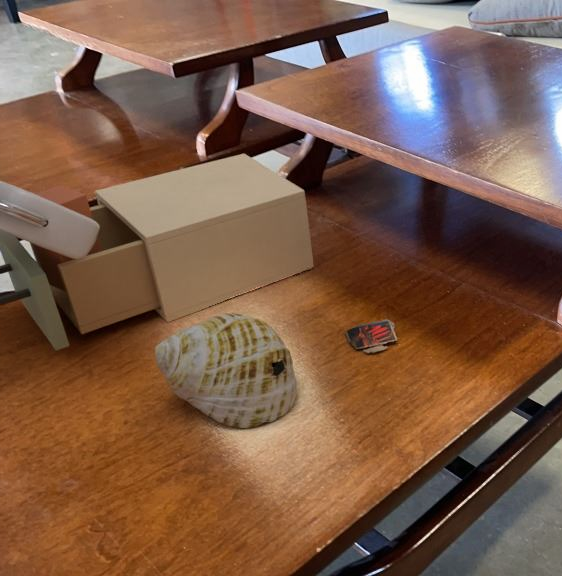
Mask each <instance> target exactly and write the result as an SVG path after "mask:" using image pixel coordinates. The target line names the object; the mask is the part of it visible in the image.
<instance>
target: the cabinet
mask: <svg viewBox="0 0 562 576" xmlns="http://www.w3.org/2000/svg"><path fill="white" fill-rule="evenodd" d="M94 193H95V197H96V201H97V206H98V205H102V204H104V205H105V206H107V207H108V208H109V209H110V210H111V211H112V212H113V213H114V214H115V215H116V216H117V217H118V218H120V219H121V220H122V221H123V222H124V223H125V224H126V225H127V226H128V227H129V228H130V229H131V230H133V231H134V232H135V233H136V234H137V235H138V236H139V237H140V238H141V239H142V240H143V241H145V246H146V250H147V254H148V258H149V262H150V266H151V270H152V274H153V278H154V282H155V285H156V289H157V293H158V297H159V301H160V305H161V307H158V308H155V309H154V311H155V312H157V314H159V315H160V317H161V318H162V319H163V320H164V321H165V322H166V323H170V322H173V321H175V320H178V319H180V318H184V317H186V316H189V315H191V314H194V313H197V312H200V311H203V310H205V309H207V308H210V307H209V306H211V307H213V306H216V305H218V304H217V303H219V304H221V303H220V302H222V303H224V302H225V301H224V300H227V299H229V298H230V297H233V296H236V295H239V294H242V293H244V292H247V291H250V290H252V289H255V288H256V287H259V286H260V287H261V286H263V285H266V284H268V283H271V282H274V281H277V280H280V279H282V278H285V277H287V276H290V275H292V274H294V273H298V272H300V271H303V270H305V269H307V268H311V267H314V268H315V266H314V257H313V248H312V239H311V232H310V231H311V230H310V222H309V215H308V208H307V207H308V206H307V199H306V192H305V190H304V189H303V188H301V187H300V186H298V185H296V184H295V183H293V182H292V181H290V180H288V179H286V178H285V177H284V176H281V175H280V174H278V173H277V172H275V171H274V170H272V169H270V168H269V167H267V166H265V165H264V164H262V163H261V162H259V161H258V160H256V159H254V158H253V157H251V156H249V155H247V154H246V153H241V154H237V155H233V156H228V157H225V158H222V159H215V160H212V161H209V162H208V161H207V162H205V163H200V164H196V165H193V166H189V167H185V168H181V169H177V170H173V171H172V170H171V171H169V172H164V173H160V174H157V175H152V176H148V177H145V178H141V179H137V180H132V181H128V182H125V183H120V184H116V185H113V186H109V187H104V188H100V189H97V190H94ZM223 301H224V302H223ZM227 301H228V300H227ZM215 304H216V305H215ZM212 305H213V306H212ZM202 309H203V310H202Z"/></svg>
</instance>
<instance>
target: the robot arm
mask: <svg viewBox="0 0 562 576" xmlns="http://www.w3.org/2000/svg"><path fill="white" fill-rule="evenodd" d="M99 230H100V226H99V224H98V223H97V222H96V221H94V220H92V219H91V218H89V217H86V216H84V215H82V214H80V213H77V212H75V211H73V210H70V209H68V208H66V207H64V206H61V205H59V204H57V203H55V202H52V201H50V200H48V199H45V198H43V197H41V196H39V195H36V193H34V192H31V191H29V190H27V189H24V188H22V187H19V186H17V185H14V184H12V183H9V182H6V181H3V180H1V179H0V231H2V232H5V233H7V234H10V235H12V236H15V237H16V238H17V239H21V240H23V241H26V242H28V243H29V244H30V243H33V244H36V245H38V246H41V247H43V248H46V249H48V250H51V251H54V252H56V253H59V254H61V255H64V256H67V257H69V258H72V259H77V260H82V259H84V258H85V257H86V256H87V254H88V252H89V251H90V250H91V249H92V247H93V245H94V243H95V241H96V239H97V235H98V232H99Z"/></svg>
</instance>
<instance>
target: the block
mask: <svg viewBox="0 0 562 576" xmlns="http://www.w3.org/2000/svg"><path fill="white" fill-rule="evenodd" d="M35 194H36V195H39V196H41V197H43V198H45V199H48V200H50V201H52V202H55V203H57V204H59V205H61V206H64V207H66V208H68V209H70V210H73V211H75V212H77V213H80V214H82V215H84V216H86V217H89V218H91V219H92V220H93V218H92V214H91V211H90V204H89V201H88V197H87V195H86V194H85V193H83V192H80V191H77V190H74V189H72V188H69V187H66V186H63V185H60V184H59V185H56V186H53V187H49V188H47V189H45V190H41V191H39V192H36V193H35ZM34 246H35V249H36V252H37V255H38V258H39V261H40V264H41V267H42V269H43V271H44V273H45V274H46V277H47V280H48V283H49V285H51V286H54V287H56V288H58V289H60V290H62V291H65V292H66V290H65V287H64V284H63V281H62V278H61V274H60V271H59V268H58V264H61V263H64V262H68V261H71V260H74V259H72V258H69V257H67V256H64V255H61V254H59V253H56V252H54V251H51V250H48V249H46V248H43V247H41V246H38V245H36V244H34ZM101 251H102V249H101V245H100V242H99V238H98V235H97V239H96V241H95V243H94V245H93V247H92V249H91V250H90V251H89V252H88V254H87V256H88V255H91V254H95V253H98V252H101Z"/></svg>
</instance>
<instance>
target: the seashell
mask: <svg viewBox="0 0 562 576" xmlns="http://www.w3.org/2000/svg"><path fill="white" fill-rule="evenodd" d="M154 359H155V361H156V362H155V363H156V366H157V368H158V369H159V371H160V372H161V373H162V374H163V375H164V377H165V380H166V382H167V384H168V386H169V388H170V389H171V391H172V392H173V393H174V394H175V395H176V397H178V398H180V399H181V400H184V401H186V402H188V404H189V405H191V406H193V407H194V408H196V409H198V410H199V411H200V412H201V413H203V414H205V415H206V416H208V417H210V418H212V419H213V420H215V421H217V422H219V423H221V424H224V425H225V426H228V427H229V426H230V427H233V428H242V429H243V428H244V429H248V428H249V429H250V428H256V427H258V426H260V425H262V424H263V423H272V422H274V421H276V420H279V419H280V418H282V417H283V416H284V415H286V414H287V413H288V412H289V411H290V410H291V408H292V407H293V406H294V404H295V401H296V398H297V394H298V384H297V383H298V381H297V377H296V375H295V374H296V373H295V369H294V364H293V357H292V354H291V352H290V350H289V349H288V348H287V347H286V345H285V342H284V339H282V338H281V337H280V335H279V333H278V332H276V330H274V328H272V326H270V325H269V324H268V323H267V322H266V321H263V320H261V319H259V318H255V317H252V316H250V315H244V314H240V313H231V312H230V313H222V314H219V315H215V316H212V317H209V318H207V319H205V320H204V321H201V322H198V323H196V324H194V325H192V326H189V327H186V328H183V329H180V330H178V331H177V332H175V333H173V334H172V335H171V336H169V337H166V338H164V339H163V340H162V341H161V342H160V343H158V344H157V345H155V348H154Z"/></svg>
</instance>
